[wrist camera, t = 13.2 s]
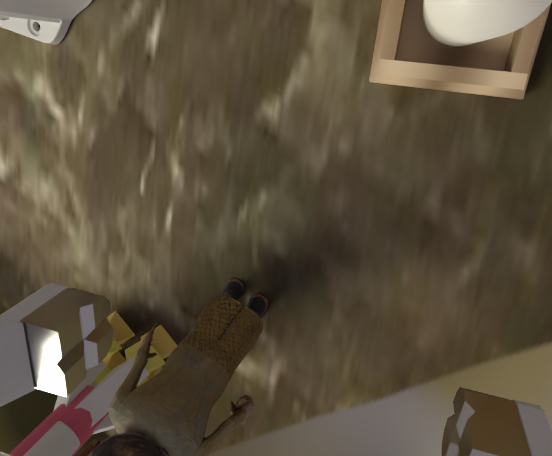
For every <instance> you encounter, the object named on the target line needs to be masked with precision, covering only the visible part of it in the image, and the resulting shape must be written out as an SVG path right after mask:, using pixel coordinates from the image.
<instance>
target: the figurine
mask: <svg viewBox="0 0 552 456" xmlns="http://www.w3.org/2000/svg"><path fill="white" fill-rule="evenodd" d="M243 293H244V286H243V283H242V282H241V281H239V280H238V279H231V280H229V281H228V282H227V283H226V285H225V287H224V289H223V290H222V292H221V294H220V295H218V296H215V297H214V298H212V299H211V300H210V301H209V302H208V303H207V305H206V306H205V307H204V308H203V310H202V311H201V313H200V315H199V316H198V318H197V320H196V322H195V323H194V325H193V327H192V328H191V330H190V332H189V333H188V334H187V336H186V337H185V338H184V339H183V340H182V341H181V342H180V343H179V344H178V346H177V347H176V348H175V349H174V350H173V351H172V353H171V354H170V355H169V357H168V359H167V361H166V362H165V364H164V366H163V368H162V369H161V371H160V373H158V374H157V375H155V376H154V377H152V378H151V379H149V380H148V381H146V382H144V383H143V384H141V385H140V386H138V387H137V384H138V382H139V379H140V377H141V374H142V371H143V369H144V368H145V366H146V364H147V362H148V359H149V358H153V357H154V356H156V355H157V354H156V353H155V352H154V353H149V352H150V346H151V345H152V344H151V341H152V340H153V339H152V337H153V334H154V329H155V328H156V327H157V323H156V324H155V325H154V326H153V327H152V329H151V330H150V331H149V332H148V334H147V335H146V336H145V337H144V339H143V340H142V342H141V344H140V346H139V348H138V350H137V352H136V354H135V358H134V363H133V366H132V368H131V370H130V372H129V373H128V375H127V376H126V378H125V380H124V381H123V383H122V384H121V386H120V387H119V389H118V390H117V392H116V393H115V395H114V397H113V399H112V402H111V404H110V406H109V416H110V419H111V421H112V423H113V425H114V427H115V429H116V431H117V434H116V435H113V436H111V437H108V438H107V439H105V440H104V441H102V442H101V443H100V441H99V439H95V440H94V441H92V442H91V443H90V444H89V445H88V446H87V447H86V448H85V450H84V451H83V452H82V454H81V455H80V456H86V455H88V454H90V455H89V456H209V454H210V453H211V452H212V451H213V450H214V448H215V447H216V446H217V445H218V444H219V443H220V441H221V440H222V439H223V438H224V437H226V436H227V435H228V434H229V433H230V432H231V431H232V430H233V429H234V428H235V427H236V426H238V425H239V424H240V423H242V422H243V421H244V419H245V418H247V417H248V416H249V415H250V414H251V411H252V410H253V406H254V404H253V401H252V399H251V397H250V396H247V395H245V396H243V397H241V398H239V401H237V403H236V405H235V404H234V403H233V402H232V401H231V414H232V415H231V417H230V418H228V419H227V420H226V421H224V422H223V423H222V424H221V425H220V426H219V427H218V428H217V429H216V430H215V431H214V432H213V433H212V434H211V435H210V436H208V437H207V438H205V437H204V434H205V430H206V426H207V421H208V418H209V414H210V411H211V409H212V407H213V405H214V404H215V402H216V401H217V400H218V399H219V398H220V396H221V395H222V393H223V392H224V390H225V388H226V387H227V385H228V382H229V381H230V379H231V377H232V375H233V373H234V371H235V369H236V368H237V367H238V365H239V364H240V362H241V361H242V360H243V358H244V357H245V356H246V355H247V353H248V352H249V351H250V349H251V348H252V347H253V345H254V344H255V342H256V341H257V339H258V338H259V336H260V334H261V332H262V327H263V322H262V320H261V317H262V316H263V314H264V313H265V311H266V309H267V307H268V301H267V299H266V298H265V297H264V296H262V295H260V294H256V295H254V296H252V297H251V298H250V300H249V302H248V305H247V306H242V304H241V303H240V302H239V301H237V300H238V298H240V296H241V295H242V294H243Z"/></svg>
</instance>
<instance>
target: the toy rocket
mask: <svg viewBox="0 0 552 456" xmlns="http://www.w3.org/2000/svg"><path fill="white" fill-rule="evenodd" d="M107 319H108V321H109V322H110V324H111V325H112V327H113V335H114V336H113V342H112V346H111V348H110V350H109V352H108V354H107V356H106V357H105V358H104V359H103V361H102V362H101V363H100V364H99V365H97V366H94V367H92V368H89V369H87V374H86V378H85V379H84V380H83V381H82V382H81V383H80V384H79V385H78V386H77V387H76V388H75V389H74V390H73V391H72V392H71V393H70V394H69V396H68V397H65V396H61V395H58V398H57V401H56V405H55V408H54V411H53V412H52V413H51V414H50V415H49V416H48V417H47V418H46V419H45V420H44V421H43V422H42V423H41V424H40V425H39V426H38V427H37V428H36V429H35V430H34V431H33V432H31V433H30V435H28V437H26V438H25V439H24V440H23V441H22V442H21V443H20V444H19V445H18V446H17V447H16V448H15V449H14V450H13V451H12V452H11V453H10V454H9V455H11V456H74V455H75V454H76V452H77V451H78V450H79V449H80V448H81V447H82V446H83V444H84V443H85V442H86V441H87V440H88V439H89V437H90V436H91V435H92V434H96V433H99V432H102V431H106V430H109V429H112V428H115V427H114V425H113V423H112V421H111V419H110V416H109V406H110V404H111V402H112V399H113V397H114V395H115V393H116V392H117V390H118V389H119V387H120V386H121V384H122V383H123V381H124V380H125V378H126V376H127V375H128V373H129V372H130V370H131V368H132V366H133V363H134V358H135V354H136V352H137V350H138V348H139V346H140V344H141V342H142V340H143V339H144V337H145V336H146V335H147V334H148V333H146V334H144V335H143V336H141V340H140V341H139V342H137V343H136V344H134V345H132V346H131V347H129V348H127V349H126V350H125V355H126V359H125V358H124V357H123V356H122V355H121V353H120V352H119V350H120V349H122V348H121V346H120V345H121V344H122V343H124V342H126V341H127V340H129V339H130V338H132V337H134V336H135V334H134V333H133V332H132V330H131V329H130V328H129V327H128V325H127V324H126V323H125V322H124V320H123V319H122V318H121V317H120V315H119V314H118V313H117V312H116V311H115V312H113V313H112V314H110V315H109V317H108V318H107ZM152 339H153V340H152V341H151V344H152V345H151V346H150V352H149V353H154V352H155V353H156V354H157V355H156V356H154V357H153V358H149V359H148V362H147V364H146V366H145V368H144V369H143V371H142V374H141V377H140V379H139V382H138V384H137V387H138V386H140V385H141V384H143V383H144V382H146V381H148V380H149V379H151V378H152V377H154V376H155V375H157V374H158V373H160V371H161V369H162V366H163V365H164V364H165V361H164V360H163V359H165V358H166V357H168V356H169V355H170V354H171V353H172V351H173V350H174V349H175V348H176V347H177V344H176V343H175V342H174V341H173V339H172V338H171V337H170V335H169V334H168V333H167V332H166V330H165V329H164V328H163V327H162V325H159V326H158V327H156V328H155V329H154V334H153V337H152Z"/></svg>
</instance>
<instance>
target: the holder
mask: <svg viewBox="0 0 552 456" xmlns="http://www.w3.org/2000/svg"><path fill="white" fill-rule="evenodd" d="M423 2H424V0H382V6H381V12H380V18H379V24H378V30H377V36H376V42H375V48H374V54H373V61H372V67H371V73H370V79H369V82H375V83H383V84H392V85H401V86H410V87H418V88H427V89H436V90H445V91H453V92H462V93H471V94H480V95H488V96H497V97H506V98H515V99H523V97H524V94H525V91H526V87H527V84H528V80H529V77H530V74H531V70H532V67H533V64H534V60H535V57H536V53H537V50H538V47H539V43H540V40H541V36H542V33H543V30H544V26H545V23H546V19H547V16H548V13H549V9H550V6H551V4H550V5H549V6H548V7H547V8H546V9H545V10H544V11H543V12H542V13H541V14H540V15H539V16H538V17H537V18H535V19H534V20H533V21H532V22H530V23H528V24H527V25H525V26H524V27H522V28H520V29H518V30H516V31H514V32H511V33H509V34H506V35H502V36H499V37H495V38H492V39H488V40H485V41H481V42H478V43H474V44H470V45H467V46H463V47H448V46H444V45H442V44H440V43H438V42H436V41H435V40H434V39H433V38H432V37H431V36H430V35H429V34H428V32H427V30H426V28H425V25H424V21H423ZM551 3H552V2H551Z"/></svg>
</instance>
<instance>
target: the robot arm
mask: <svg viewBox="0 0 552 456" xmlns="http://www.w3.org/2000/svg"><path fill="white" fill-rule="evenodd" d="M91 1H92V0H0V27H2V28H5V29H8V30H10V31H13V32H16V33H19V34H22V35H24V36H27V37H30V38H33V39H35V40H38V41H41V42H44V43H48V44H53V45H56V44H59V43H60V42H61V41H62V40H63V38H64V36H65V34H66V32H67V30H68V28H69V25H70V23H71V21H72V19H73V18H74V17H75V16H76V15H77V14H78V13H79V12H81V11H82V10H83V9H84V8H86V7H87V6H88V5H89V4H90V3H91ZM39 24H40V29H39ZM111 313H112V309H111V301H110V300H109V299H108V298H107V297H104V296H101V295H97V294H94V293H90V292H86V291H83V290H79V289H76V288H71V287H68V286H64V285H60V284H57V283H52V284H47V285H46V286H44V287H43V288H41V289H40V290H38V291H37V292H35V293H33V294H32V295H30V296H29V297H27V298H26V299H24V300H23V301H21V302H20V303H18V304H17V305H15V306H14V307H12V308H10V309H9V310H7V311H6V312H4V313H3V314H1V315H0V406H2V405H5V404H7V403H9V402H11V401H13V400H15V399H17V398H19V397H21V396H23V395H25V394H27V393H29V392H31V391H33V390H34V388H37V389H40V390H44V391H47V392H51V393H54V394H58V395H61V396H65V397H68V396H69V394H70V393H71V392H72V391H73V390H74V389H75V388H76V387H77V386H78V385H79V384H80V383H81V382H82V381H83V380H84V379H85V378H86V374H87V369H89V368H92V367H94V366H97V365H99V364H100V363H101V362H102V361H103V359H104V358H105V357H106V356H107V354H108V352H109V350H110V348H111V346H112V342H113V336H114V335H113V327H112V325H111V324H110V322H109V321H108V319H107V318H108V317H109V315H110V314H111ZM453 403H454V413H455V414H454V415H452V416H450V417H449V418H448V419H447V422H446V426H445V429H444V435H443V441H442V456H552V430H551V427H550V425H549V422H548V419H547V417H546V414H545V411H544V410H543V409H542V408H541V407H540V406H538V405H534V404H529V403H525V402H520V401H516V400H509V399H505V398H501V397H496V396H493V395H488V394H485V393H481V392H477V391H472V390H469V389H465V388H461V387H460V388H459V389H458V391H457V393H456V396H455V398H454V401H453ZM0 456H11V455H9V454H6V453H3V452H0Z"/></svg>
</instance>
